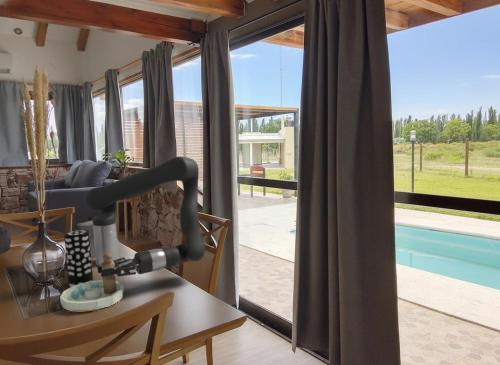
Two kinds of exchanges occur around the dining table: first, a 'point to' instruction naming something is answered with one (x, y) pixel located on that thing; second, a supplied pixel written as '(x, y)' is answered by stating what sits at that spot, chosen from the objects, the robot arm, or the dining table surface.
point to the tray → (90, 296)
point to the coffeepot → (89, 226)
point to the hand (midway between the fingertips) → (99, 271)
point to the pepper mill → (108, 281)
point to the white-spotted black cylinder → (78, 257)
